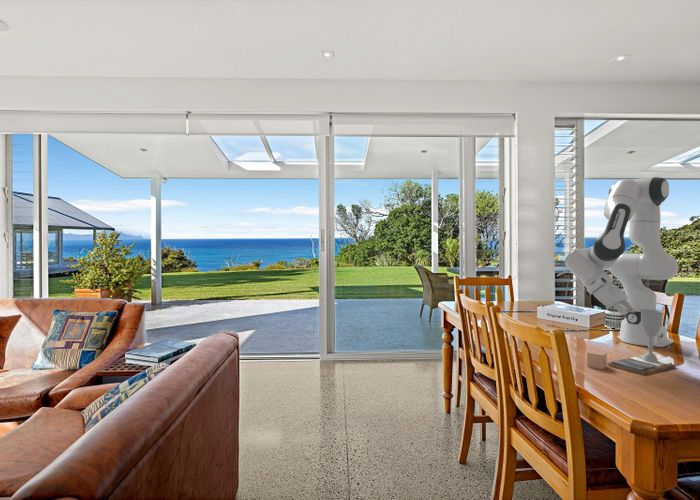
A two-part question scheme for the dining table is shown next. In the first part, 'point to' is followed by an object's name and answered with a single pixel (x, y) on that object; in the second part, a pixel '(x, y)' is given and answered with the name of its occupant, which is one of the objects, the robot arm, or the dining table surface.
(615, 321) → the decorative candle
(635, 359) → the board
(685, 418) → the dining table surface
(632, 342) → the robot arm
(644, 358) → the chalice
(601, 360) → the terracotta cube
